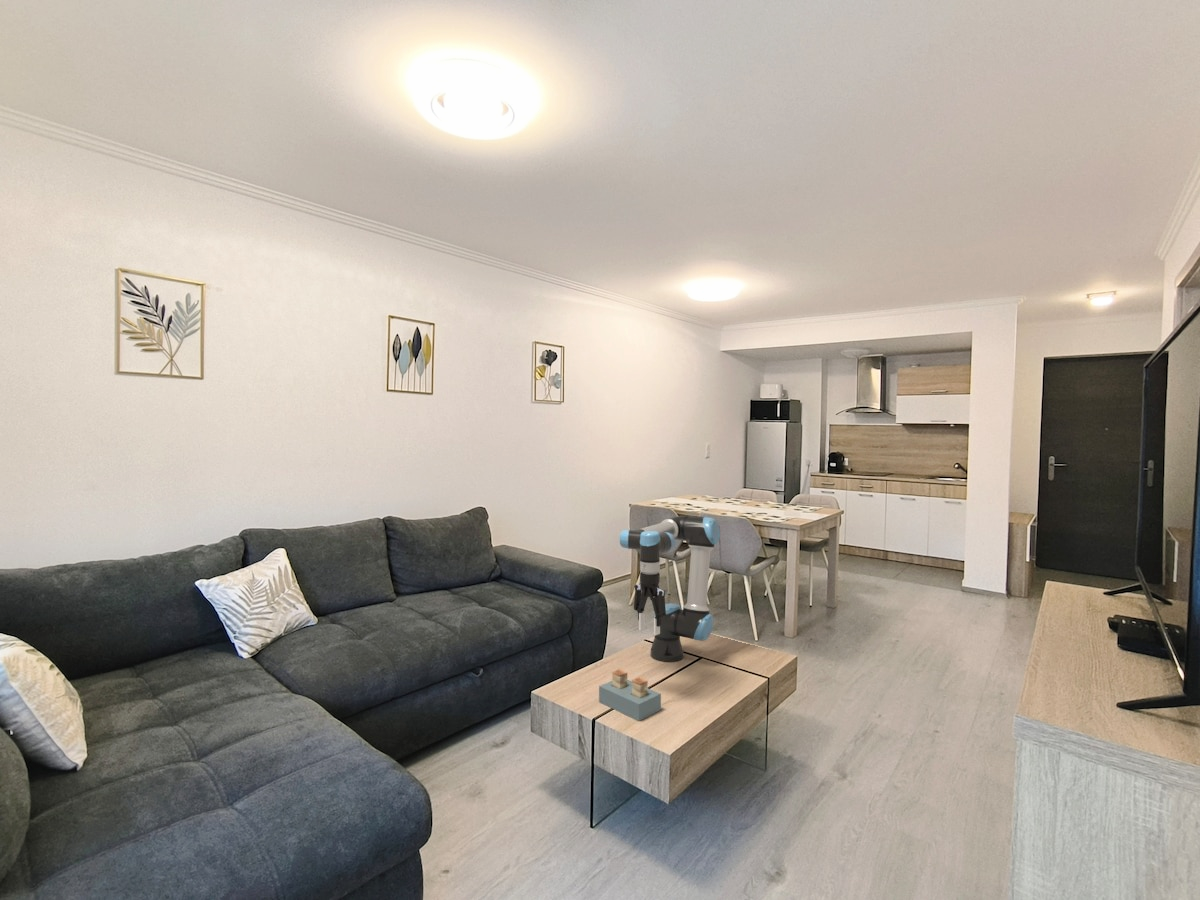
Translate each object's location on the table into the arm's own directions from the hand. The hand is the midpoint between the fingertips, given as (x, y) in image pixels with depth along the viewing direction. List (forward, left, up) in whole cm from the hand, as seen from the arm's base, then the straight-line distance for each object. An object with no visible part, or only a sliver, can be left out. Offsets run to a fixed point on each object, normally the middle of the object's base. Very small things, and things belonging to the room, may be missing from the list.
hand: (649, 631), depth 214 cm
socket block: (+11, 0, -25) cm, 27 cm away
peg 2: (+11, +5, -20) cm, 23 cm away
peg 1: (+11, -5, -20) cm, 23 cm away
